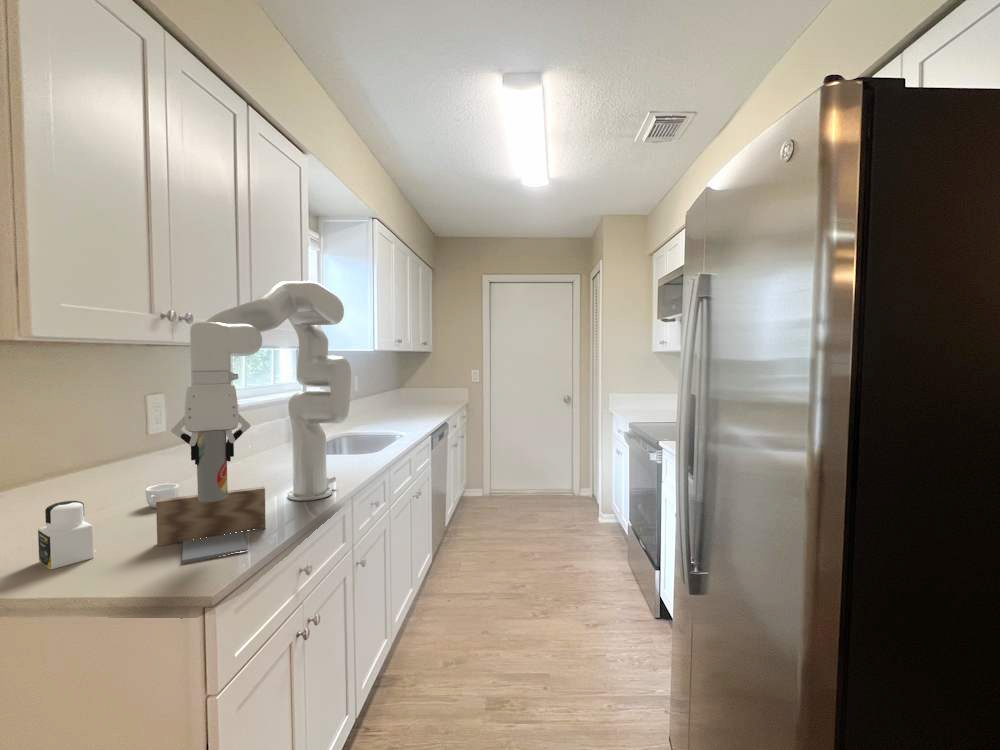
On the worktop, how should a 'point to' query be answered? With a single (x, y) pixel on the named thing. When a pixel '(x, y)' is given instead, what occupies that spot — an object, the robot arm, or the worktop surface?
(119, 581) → the worktop surface
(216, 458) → the lotion bottle
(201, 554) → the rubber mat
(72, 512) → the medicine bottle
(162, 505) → the brown wooden board
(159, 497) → the teacup
